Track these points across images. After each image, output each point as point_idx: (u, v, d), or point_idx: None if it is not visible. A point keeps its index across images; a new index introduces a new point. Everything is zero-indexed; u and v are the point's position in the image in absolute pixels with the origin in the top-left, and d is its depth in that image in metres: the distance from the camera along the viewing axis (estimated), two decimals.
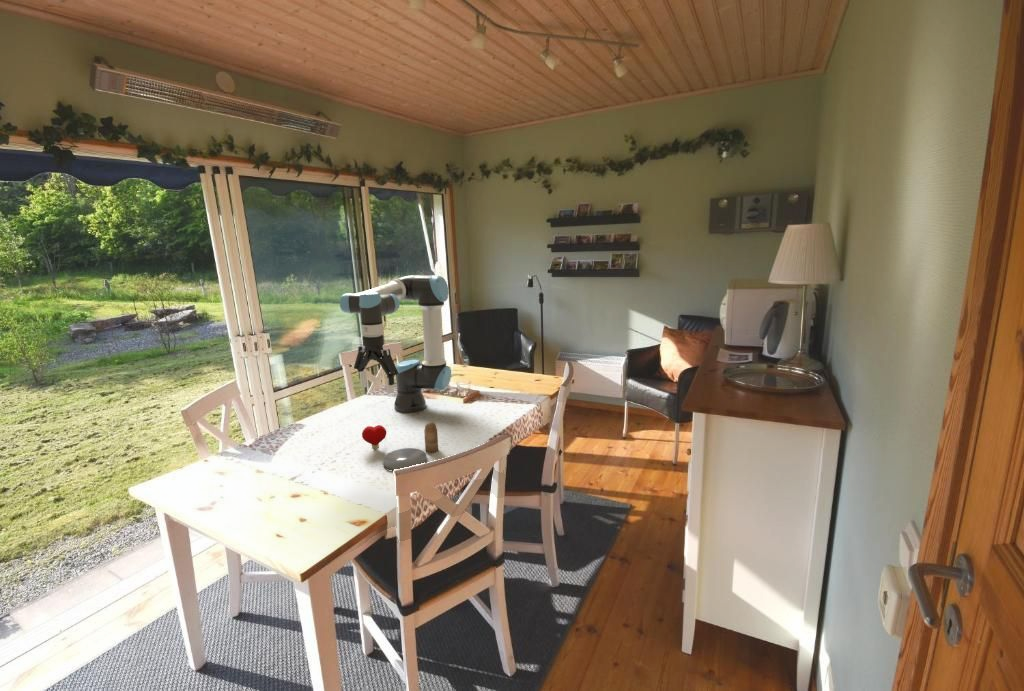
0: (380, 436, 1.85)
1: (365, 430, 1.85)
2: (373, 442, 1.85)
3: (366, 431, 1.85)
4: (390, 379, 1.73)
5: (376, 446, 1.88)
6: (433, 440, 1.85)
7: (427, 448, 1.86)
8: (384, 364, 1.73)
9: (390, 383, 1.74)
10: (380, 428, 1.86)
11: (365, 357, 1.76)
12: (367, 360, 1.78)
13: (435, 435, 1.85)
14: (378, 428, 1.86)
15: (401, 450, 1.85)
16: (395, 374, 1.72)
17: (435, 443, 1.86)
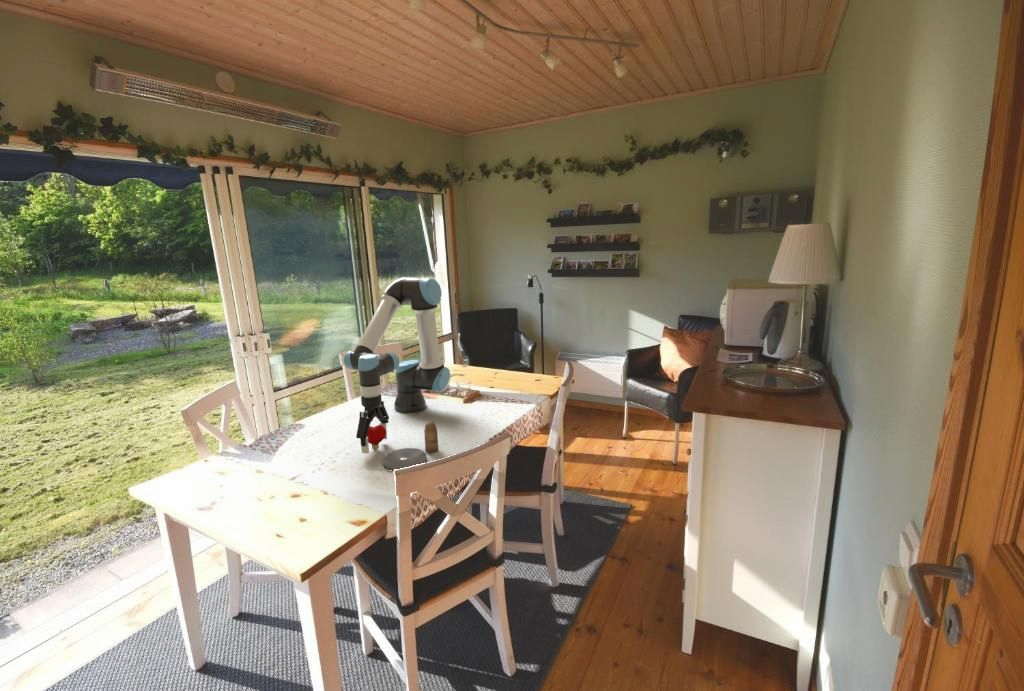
0: (380, 436, 1.85)
1: None
2: (373, 442, 1.85)
3: None
4: None
5: (376, 446, 1.88)
6: (433, 440, 1.85)
7: (427, 448, 1.86)
8: None
9: None
10: (380, 428, 1.86)
11: None
12: (377, 415, 1.89)
13: (435, 435, 1.85)
14: (378, 428, 1.86)
15: (401, 450, 1.85)
16: (358, 437, 1.77)
17: (435, 443, 1.86)
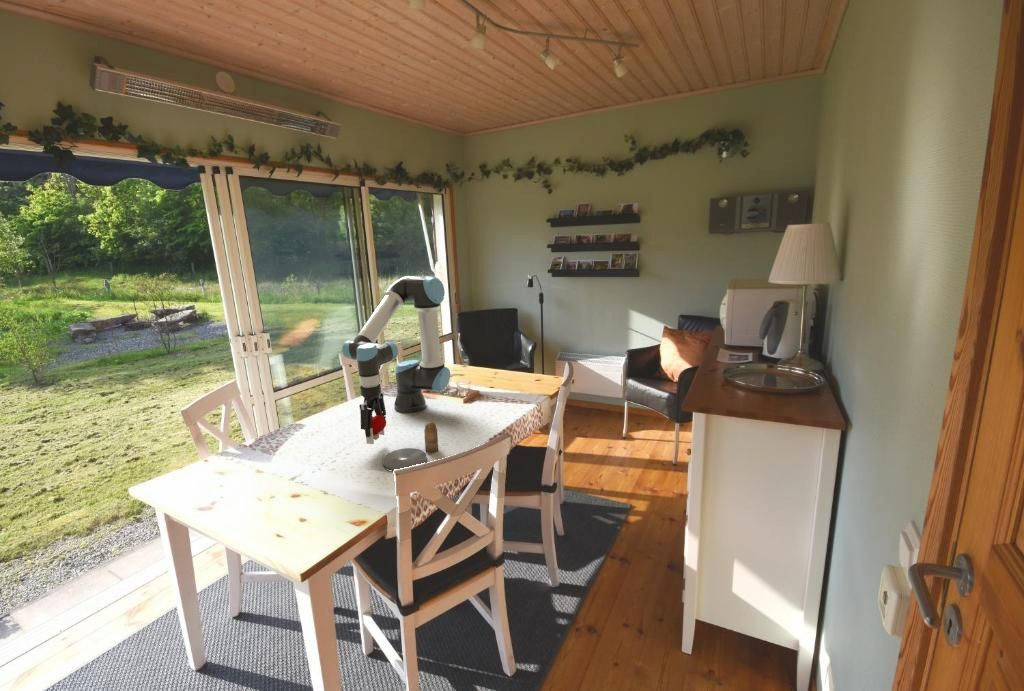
0: (380, 426, 1.85)
1: None
2: (373, 432, 1.85)
3: None
4: None
5: (376, 436, 1.87)
6: (433, 440, 1.85)
7: (427, 448, 1.86)
8: None
9: None
10: (380, 418, 1.86)
11: None
12: (375, 407, 1.88)
13: (435, 435, 1.85)
14: (378, 418, 1.85)
15: (401, 450, 1.85)
16: (363, 428, 1.80)
17: (435, 443, 1.86)
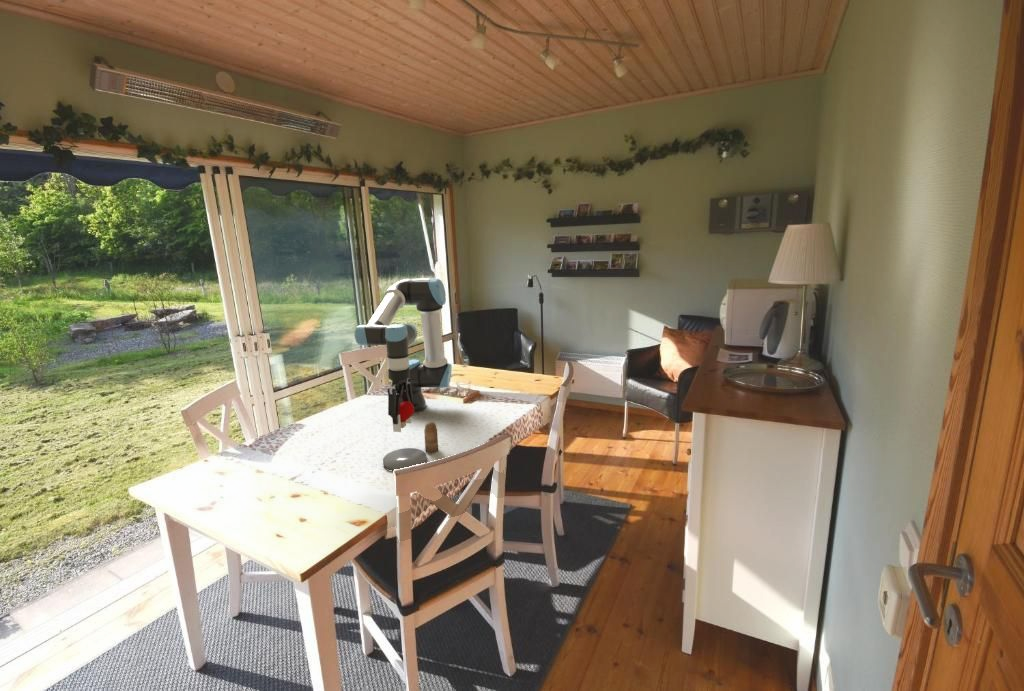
0: (408, 412, 1.72)
1: None
2: (400, 419, 1.72)
3: None
4: None
5: (403, 423, 1.75)
6: (433, 440, 1.85)
7: (427, 448, 1.86)
8: None
9: None
10: (408, 404, 1.73)
11: None
12: (403, 393, 1.75)
13: (435, 435, 1.85)
14: (406, 404, 1.73)
15: (401, 450, 1.85)
16: (390, 414, 1.67)
17: (435, 443, 1.86)
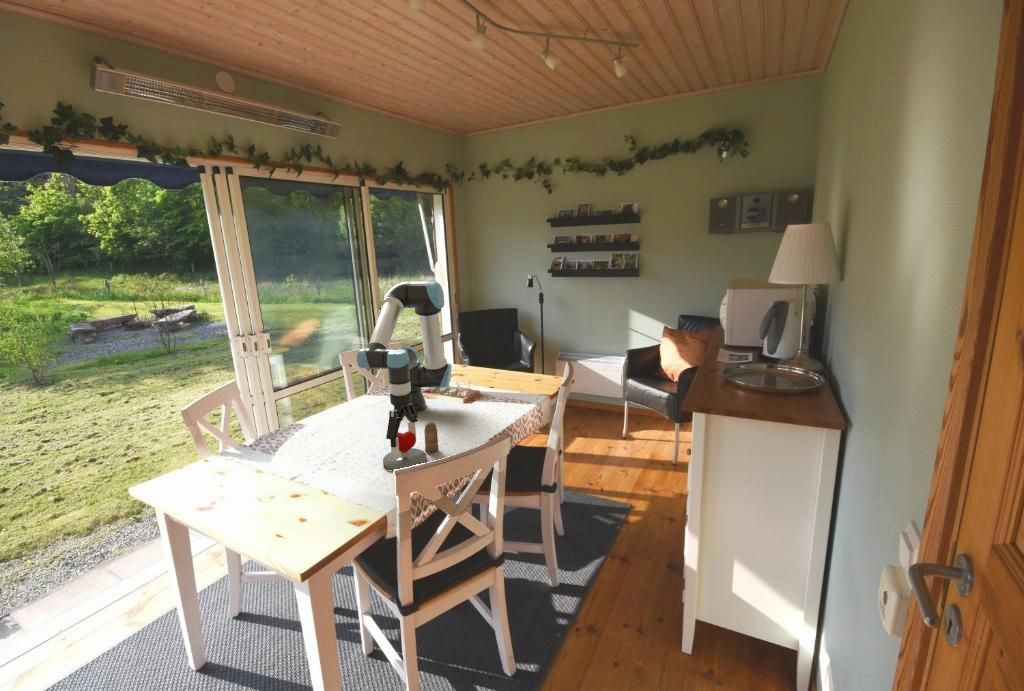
0: (410, 443, 1.75)
1: None
2: (403, 449, 1.75)
3: None
4: None
5: (405, 454, 1.78)
6: (433, 440, 1.85)
7: (427, 448, 1.86)
8: None
9: None
10: (410, 434, 1.76)
11: None
12: None
13: (435, 435, 1.85)
14: (408, 434, 1.76)
15: None
16: (388, 438, 1.67)
17: (435, 443, 1.86)
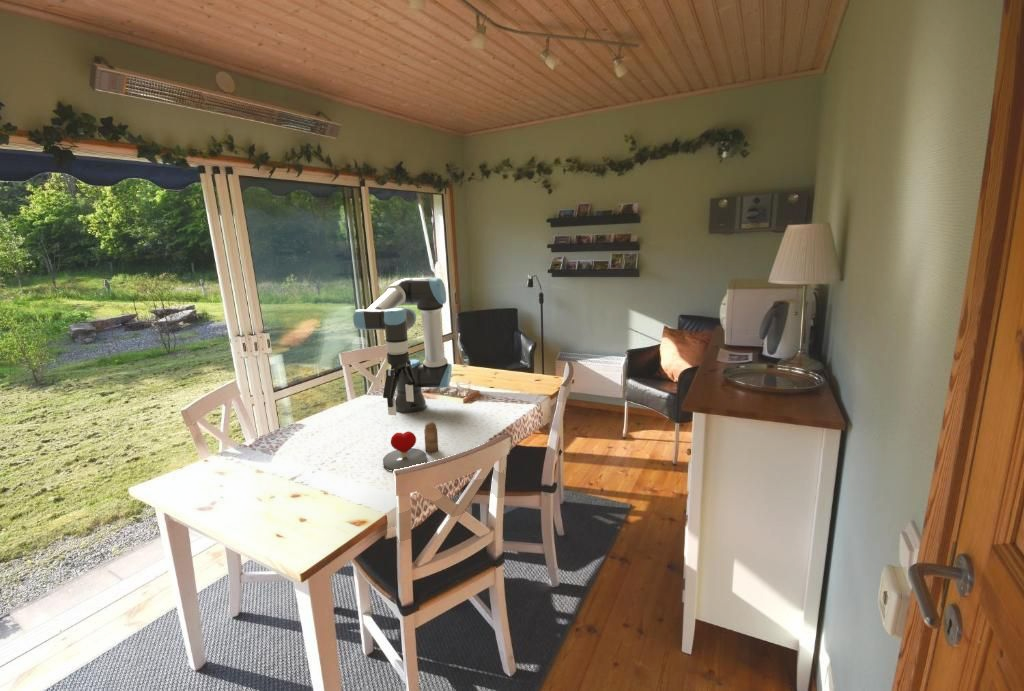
0: (410, 443, 1.75)
1: (394, 437, 1.75)
2: (403, 449, 1.75)
3: (395, 437, 1.75)
4: None
5: (405, 454, 1.78)
6: (433, 440, 1.85)
7: (427, 448, 1.86)
8: None
9: None
10: (410, 435, 1.76)
11: None
12: (403, 375, 1.75)
13: (435, 435, 1.85)
14: (408, 435, 1.76)
15: None
16: (385, 397, 1.63)
17: (435, 443, 1.86)
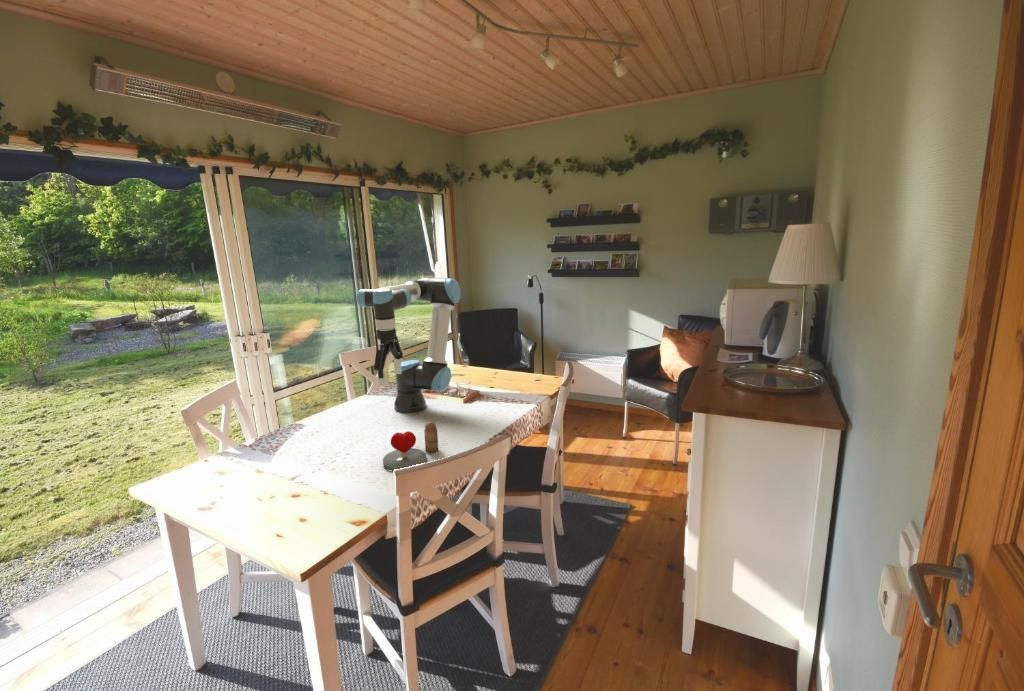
0: (410, 443, 1.75)
1: (394, 437, 1.75)
2: (403, 449, 1.75)
3: (395, 437, 1.75)
4: None
5: (405, 454, 1.78)
6: (433, 440, 1.85)
7: (427, 448, 1.86)
8: None
9: None
10: (410, 435, 1.76)
11: None
12: (391, 350, 1.93)
13: (435, 435, 1.85)
14: (408, 435, 1.76)
15: None
16: (376, 369, 1.82)
17: (435, 443, 1.86)
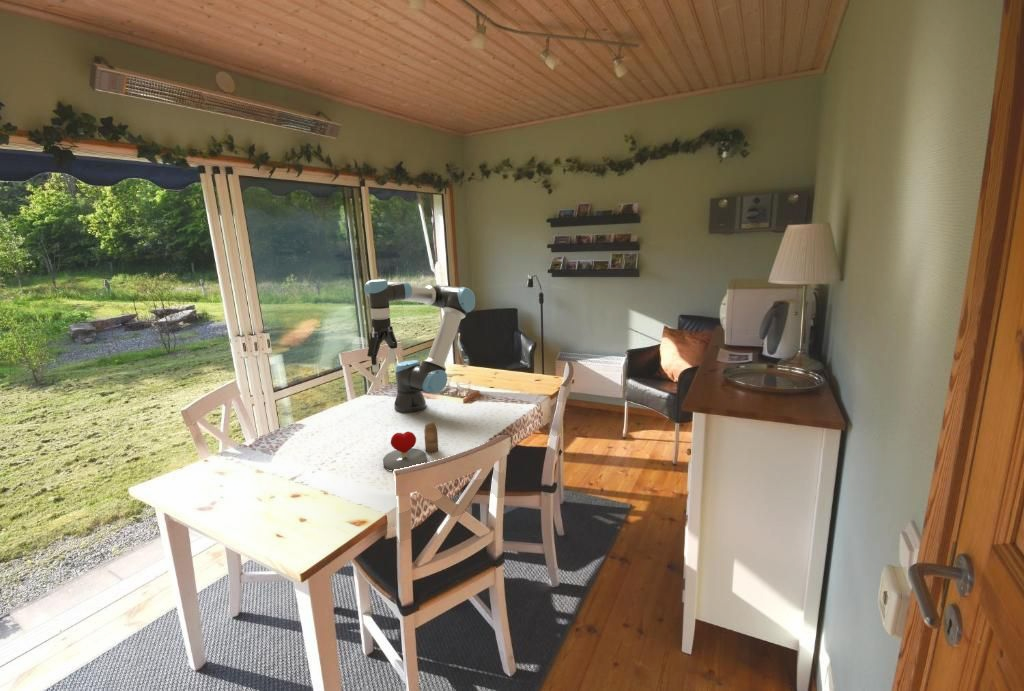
0: (410, 443, 1.75)
1: (394, 437, 1.75)
2: (403, 450, 1.75)
3: (395, 438, 1.75)
4: None
5: (405, 454, 1.78)
6: (433, 440, 1.85)
7: (427, 448, 1.86)
8: None
9: None
10: (410, 435, 1.76)
11: None
12: (386, 339, 2.01)
13: (435, 435, 1.85)
14: (408, 435, 1.76)
15: None
16: (369, 355, 1.89)
17: (435, 443, 1.86)
